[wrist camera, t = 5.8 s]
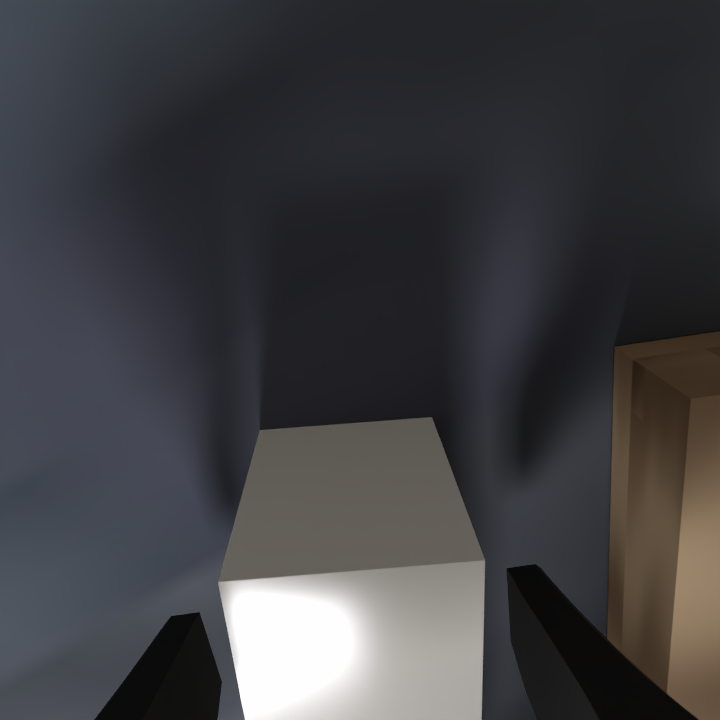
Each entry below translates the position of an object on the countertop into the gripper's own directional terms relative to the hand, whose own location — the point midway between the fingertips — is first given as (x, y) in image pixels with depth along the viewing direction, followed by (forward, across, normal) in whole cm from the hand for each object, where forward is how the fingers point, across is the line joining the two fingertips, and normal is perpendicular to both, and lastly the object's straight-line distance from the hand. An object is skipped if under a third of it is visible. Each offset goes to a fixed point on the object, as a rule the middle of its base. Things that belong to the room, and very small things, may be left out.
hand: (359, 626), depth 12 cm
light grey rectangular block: (+3, 0, +3) cm, 4 cm away
